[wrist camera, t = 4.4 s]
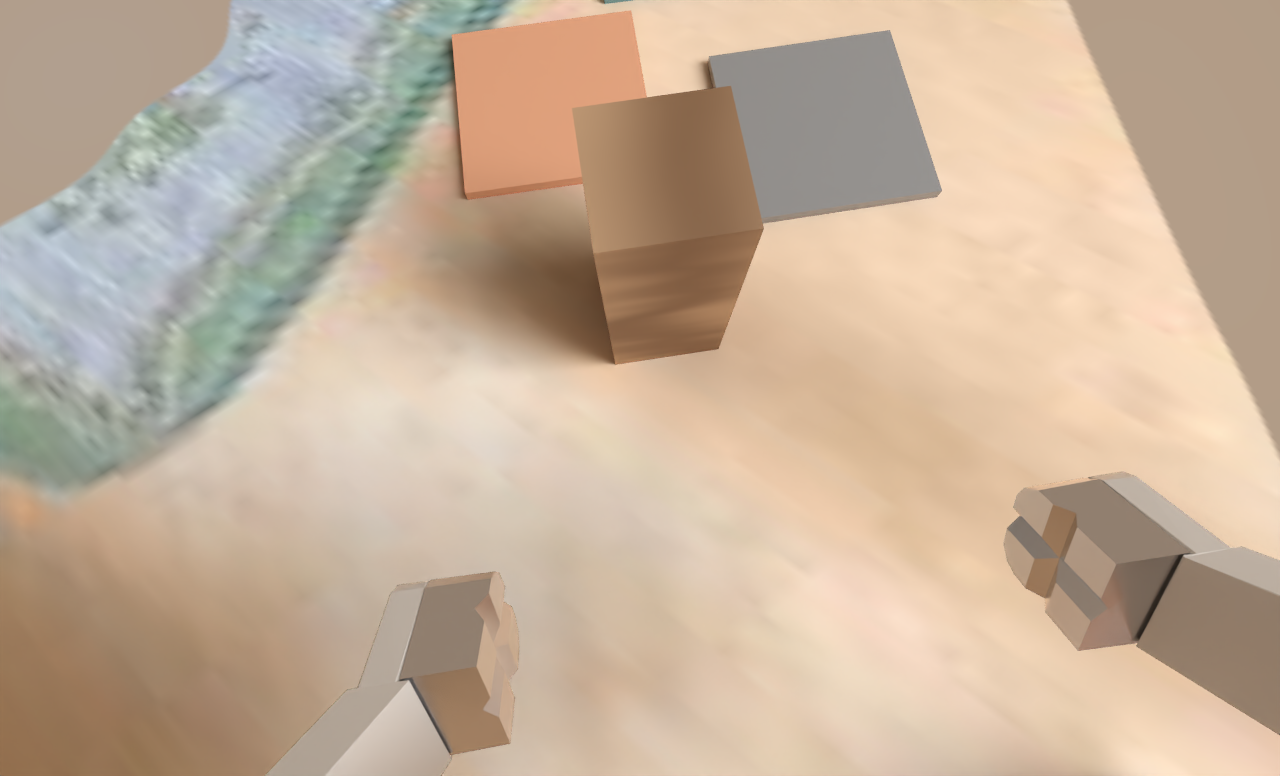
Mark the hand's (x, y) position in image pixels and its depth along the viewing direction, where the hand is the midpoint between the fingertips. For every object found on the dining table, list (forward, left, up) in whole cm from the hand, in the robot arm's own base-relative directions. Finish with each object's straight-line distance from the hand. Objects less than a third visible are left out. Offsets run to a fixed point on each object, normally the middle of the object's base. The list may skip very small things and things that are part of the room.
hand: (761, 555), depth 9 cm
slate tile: (+8, +16, -12) cm, 22 cm away
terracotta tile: (-3, +19, -12) cm, 23 cm away
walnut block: (0, +9, -12) cm, 15 cm away
